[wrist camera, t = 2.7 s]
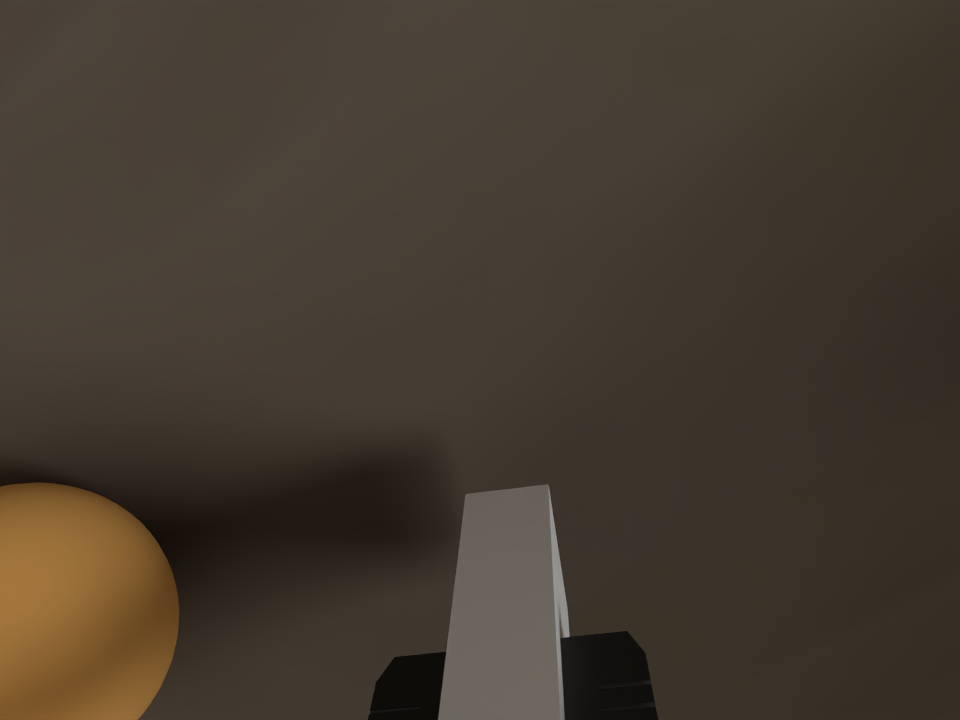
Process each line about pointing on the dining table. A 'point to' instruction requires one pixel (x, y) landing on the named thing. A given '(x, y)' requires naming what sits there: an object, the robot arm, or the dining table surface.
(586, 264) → the dining table surface
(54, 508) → the ball
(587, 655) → the robot arm
